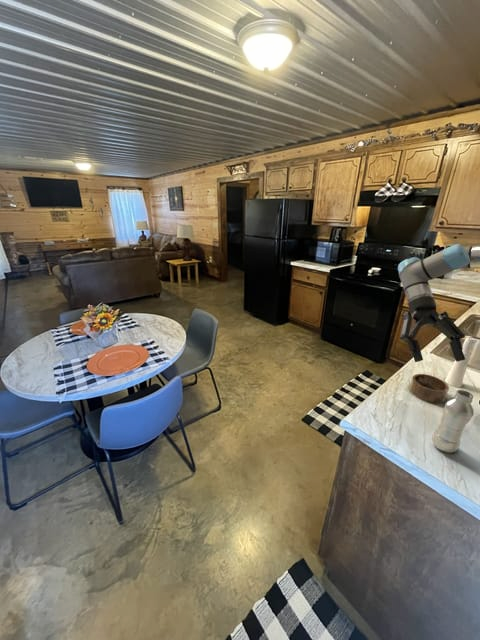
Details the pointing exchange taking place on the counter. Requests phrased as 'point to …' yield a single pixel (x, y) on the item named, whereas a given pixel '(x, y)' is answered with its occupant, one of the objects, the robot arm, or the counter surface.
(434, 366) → the counter surface
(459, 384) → the cosmetic bottle
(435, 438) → the plastic bottle
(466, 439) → the counter surface
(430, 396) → the holder
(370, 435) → the counter surface
